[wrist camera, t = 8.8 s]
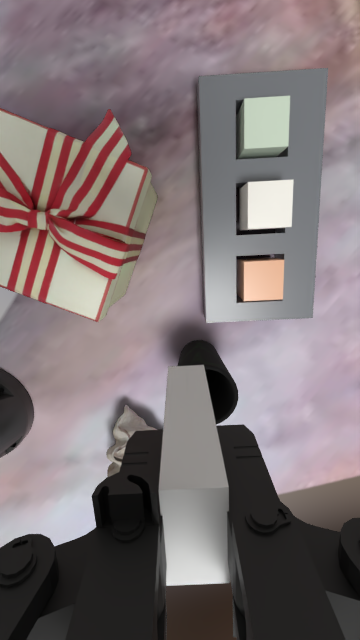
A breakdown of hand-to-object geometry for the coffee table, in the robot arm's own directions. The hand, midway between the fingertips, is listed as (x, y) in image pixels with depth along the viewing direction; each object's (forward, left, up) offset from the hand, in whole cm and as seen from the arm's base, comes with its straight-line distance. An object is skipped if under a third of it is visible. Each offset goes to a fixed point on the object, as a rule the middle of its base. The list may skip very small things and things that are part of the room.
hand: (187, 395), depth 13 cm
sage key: (+10, +18, -30) cm, 37 cm away
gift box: (-12, +10, -32) cm, 35 cm away
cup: (+2, -11, -32) cm, 34 cm away
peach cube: (+10, +1, -31) cm, 32 cm away
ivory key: (+10, +10, -28) cm, 32 cm away
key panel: (+10, +10, -31) cm, 34 cm away
